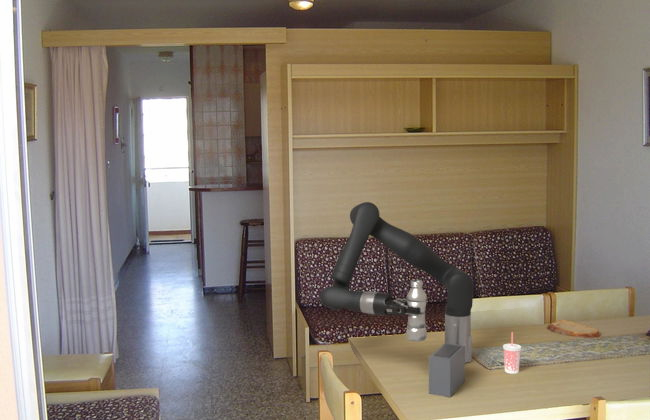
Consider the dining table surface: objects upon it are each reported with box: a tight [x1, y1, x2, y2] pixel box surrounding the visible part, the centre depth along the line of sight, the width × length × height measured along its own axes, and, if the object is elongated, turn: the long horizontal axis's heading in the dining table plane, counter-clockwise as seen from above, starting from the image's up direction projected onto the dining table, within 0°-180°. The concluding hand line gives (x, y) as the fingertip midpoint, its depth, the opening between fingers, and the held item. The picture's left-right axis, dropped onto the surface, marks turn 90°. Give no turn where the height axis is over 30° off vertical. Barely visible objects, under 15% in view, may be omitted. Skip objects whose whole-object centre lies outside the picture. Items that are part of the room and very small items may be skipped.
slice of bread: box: [546, 319, 601, 339], centre depth 277 cm, size 18×18×4 cm
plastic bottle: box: [405, 279, 428, 342], centre depth 217 cm, size 6×7×20 cm
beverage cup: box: [502, 331, 522, 374], centre depth 231 cm, size 6×6×14 cm
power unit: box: [428, 342, 466, 398], centre depth 217 cm, size 7×16×12 cm, turn 152°
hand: (423, 308), depth 215 cm, fingers closed on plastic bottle, 6 cm apart
